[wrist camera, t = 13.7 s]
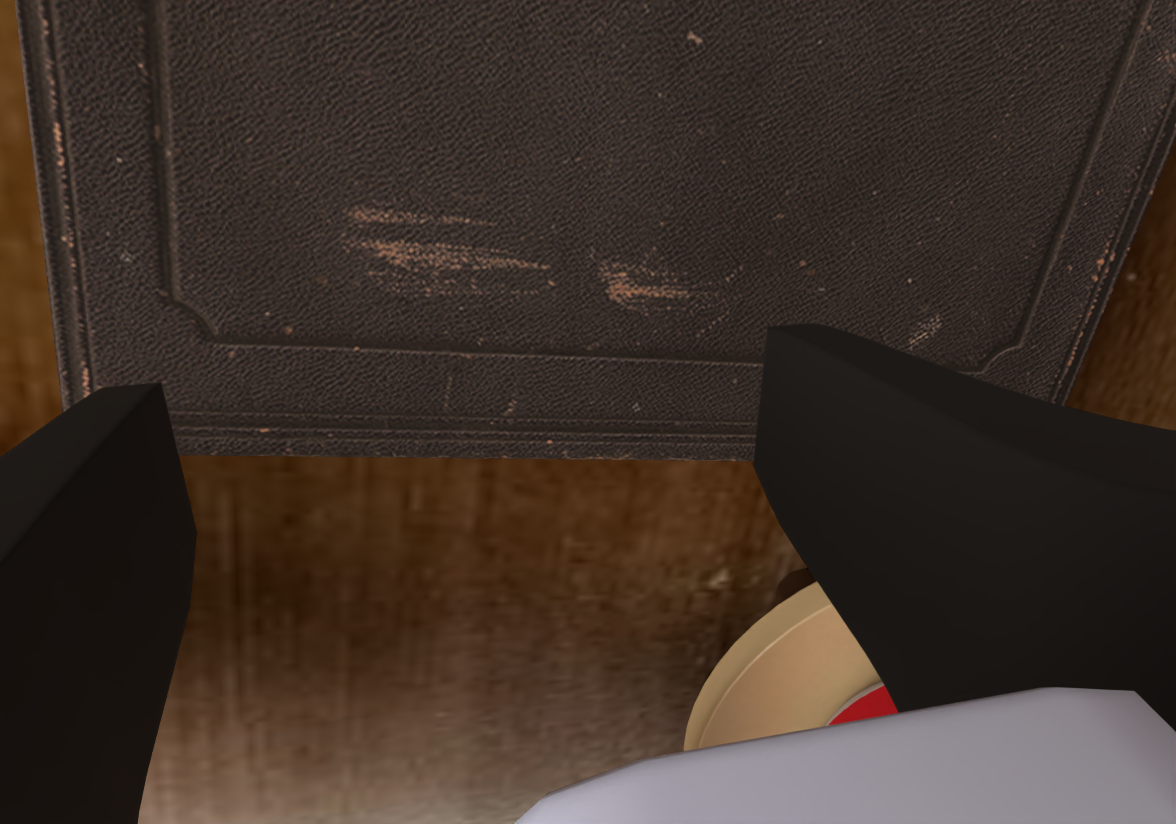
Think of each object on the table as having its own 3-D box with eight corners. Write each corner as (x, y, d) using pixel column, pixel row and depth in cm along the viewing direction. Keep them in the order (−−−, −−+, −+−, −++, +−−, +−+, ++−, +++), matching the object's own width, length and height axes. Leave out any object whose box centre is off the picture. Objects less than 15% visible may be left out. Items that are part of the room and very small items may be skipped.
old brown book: (991, 423, 27) (1042, 466, 25) (92, 401, 21) (66, 455, 19) (1249, -256, 20) (1348, -271, 18) (-7, -583, 14) (-64, -660, 12)
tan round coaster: (655, 825, 32) (682, 907, 30) (672, 534, 27) (707, 605, 24) (976, 763, 35) (1027, 834, 32) (1056, 484, 29) (1126, 542, 26)
